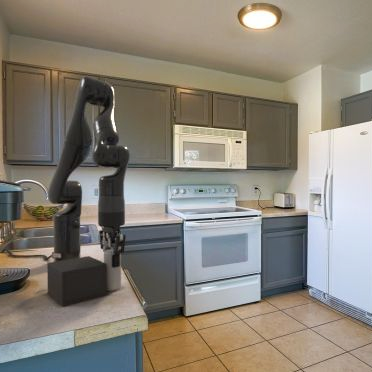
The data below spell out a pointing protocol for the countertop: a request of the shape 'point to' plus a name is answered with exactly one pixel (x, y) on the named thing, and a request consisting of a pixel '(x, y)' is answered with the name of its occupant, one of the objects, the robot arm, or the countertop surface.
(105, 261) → the beverage can
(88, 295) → the dark grey lidded box
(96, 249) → the countertop surface
